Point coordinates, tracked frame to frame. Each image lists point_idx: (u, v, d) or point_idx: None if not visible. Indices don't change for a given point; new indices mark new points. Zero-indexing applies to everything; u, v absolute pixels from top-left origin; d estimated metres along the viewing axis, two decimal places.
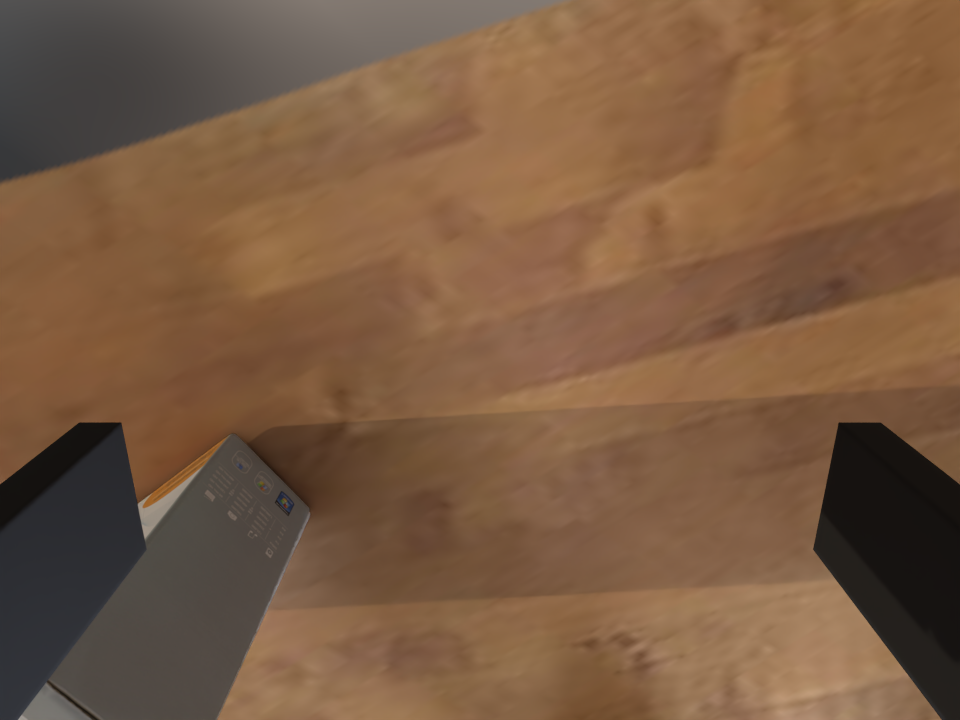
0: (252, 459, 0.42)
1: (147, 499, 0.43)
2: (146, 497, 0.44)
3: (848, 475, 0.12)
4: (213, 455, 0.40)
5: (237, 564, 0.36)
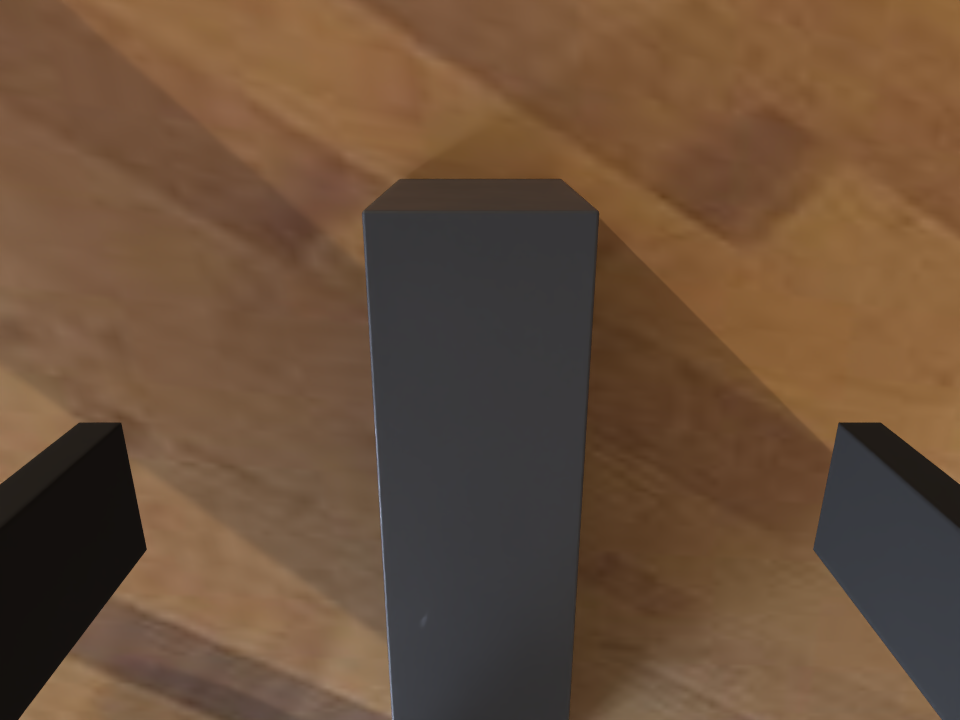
0: None
1: None
2: None
3: (848, 475, 0.12)
4: None
5: None
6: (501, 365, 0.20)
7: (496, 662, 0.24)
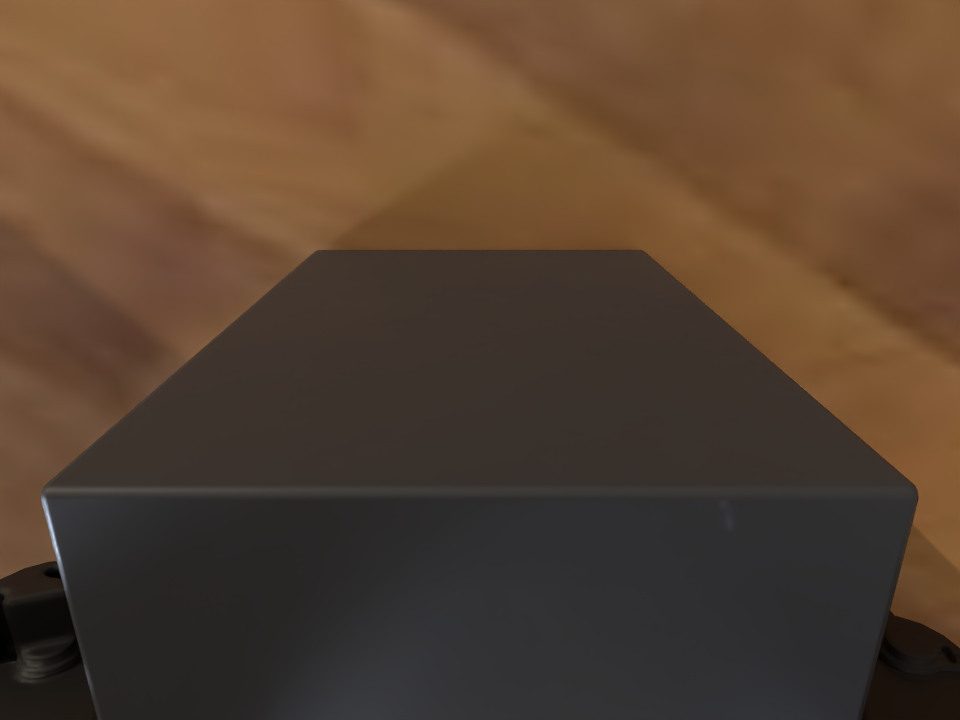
0: None
1: None
2: None
3: None
4: None
5: None
6: None
7: None
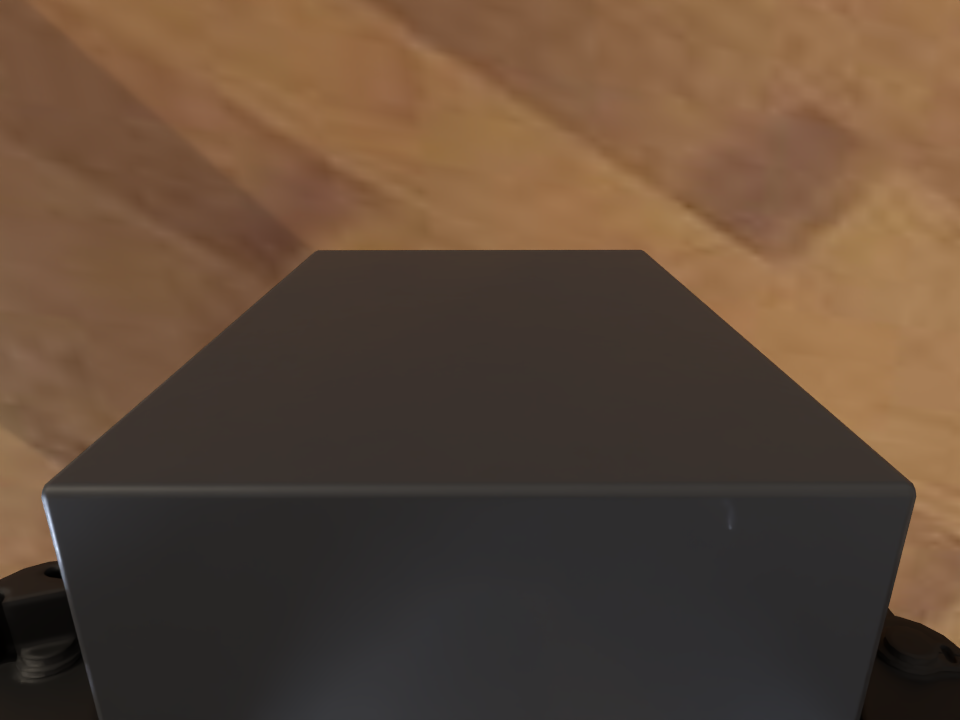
0: None
1: None
2: None
3: None
4: None
5: None
6: None
7: None
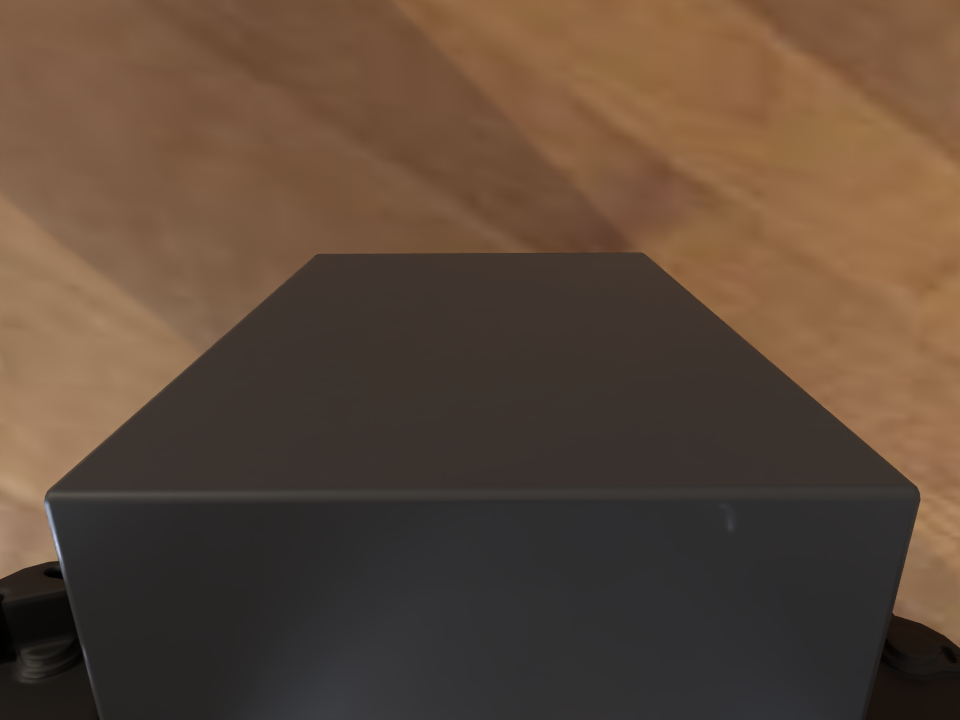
0: None
1: None
2: None
3: None
4: None
5: None
6: None
7: None
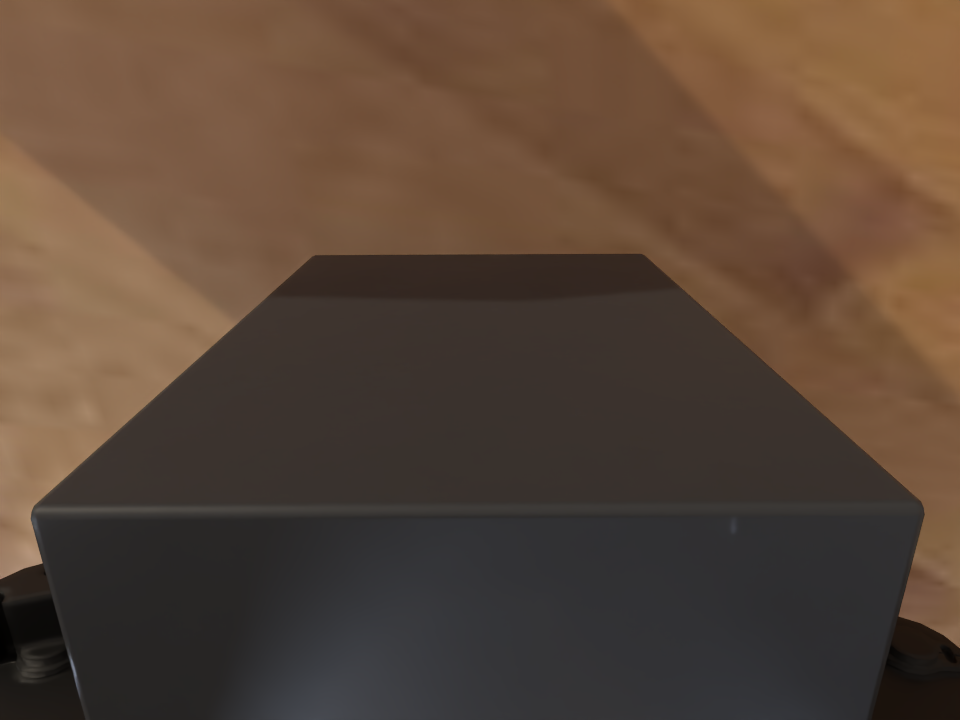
0: None
1: None
2: None
3: None
4: None
5: None
6: None
7: None
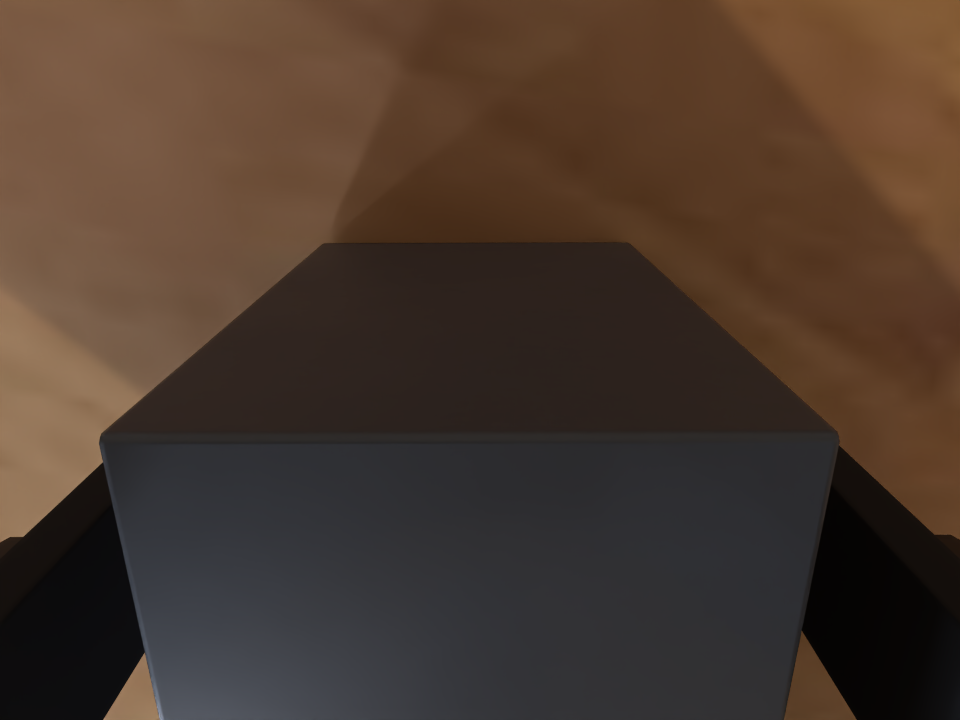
0: None
1: None
2: None
3: None
4: None
5: None
6: None
7: None
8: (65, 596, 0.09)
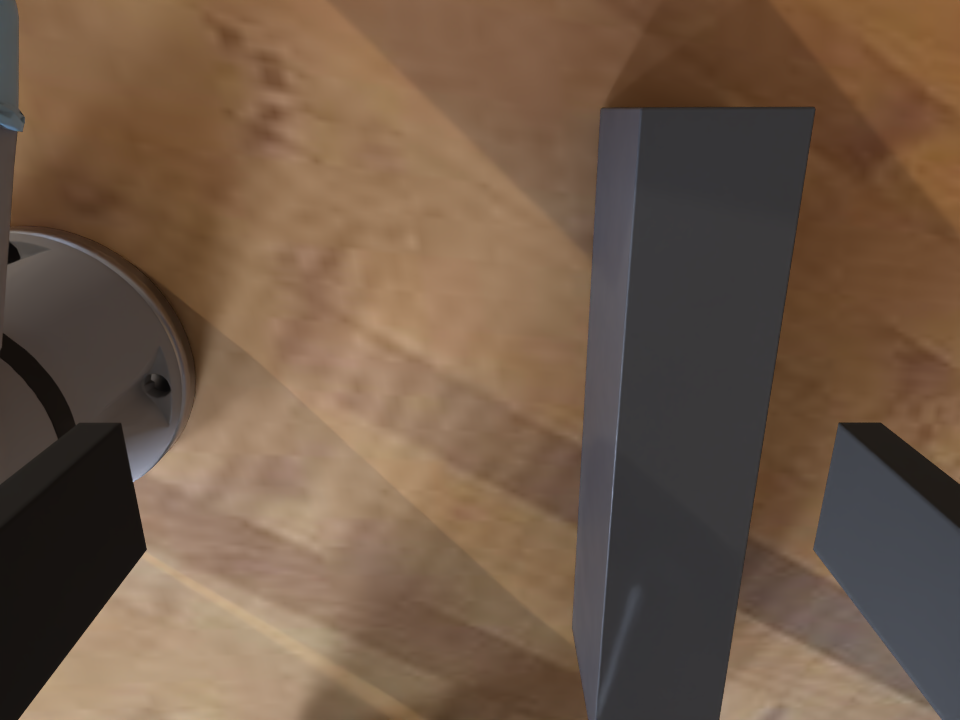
0: None
1: None
2: None
3: (848, 475, 0.12)
4: None
5: None
6: (730, 229, 0.27)
7: (698, 480, 0.31)
8: None
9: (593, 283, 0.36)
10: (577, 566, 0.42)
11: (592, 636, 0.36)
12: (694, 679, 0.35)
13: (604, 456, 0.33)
